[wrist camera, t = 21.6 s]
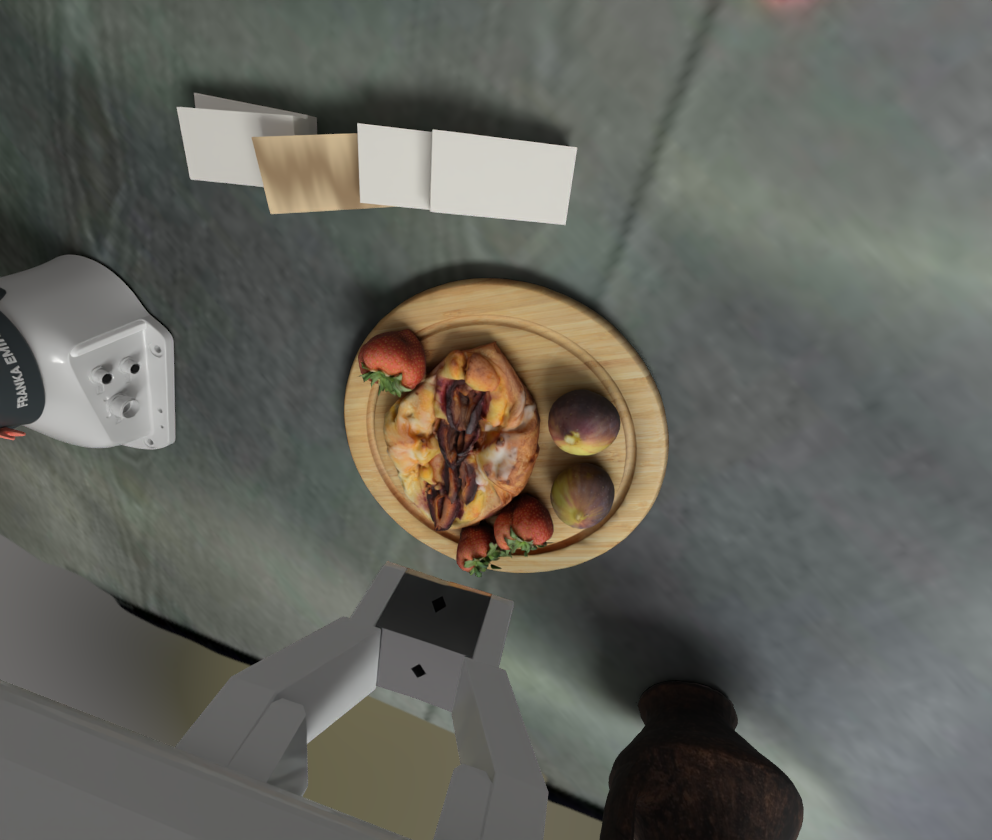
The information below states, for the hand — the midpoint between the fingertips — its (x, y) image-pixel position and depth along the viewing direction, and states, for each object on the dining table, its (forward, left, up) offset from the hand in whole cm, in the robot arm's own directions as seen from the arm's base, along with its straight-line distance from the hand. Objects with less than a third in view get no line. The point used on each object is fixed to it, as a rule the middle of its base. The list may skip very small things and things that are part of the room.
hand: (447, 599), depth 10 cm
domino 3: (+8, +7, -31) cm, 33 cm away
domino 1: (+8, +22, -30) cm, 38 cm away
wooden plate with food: (-15, +4, -33) cm, 36 cm away
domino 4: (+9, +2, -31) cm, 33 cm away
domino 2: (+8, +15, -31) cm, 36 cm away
